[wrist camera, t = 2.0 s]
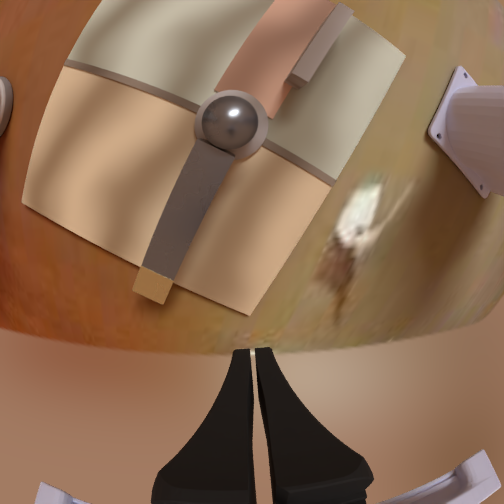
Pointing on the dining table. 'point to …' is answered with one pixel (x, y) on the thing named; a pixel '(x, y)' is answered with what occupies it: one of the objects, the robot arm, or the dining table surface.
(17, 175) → the dining table surface
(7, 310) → the dining table surface
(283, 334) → the dining table surface
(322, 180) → the door board
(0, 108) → the travel mug
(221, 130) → the bar
